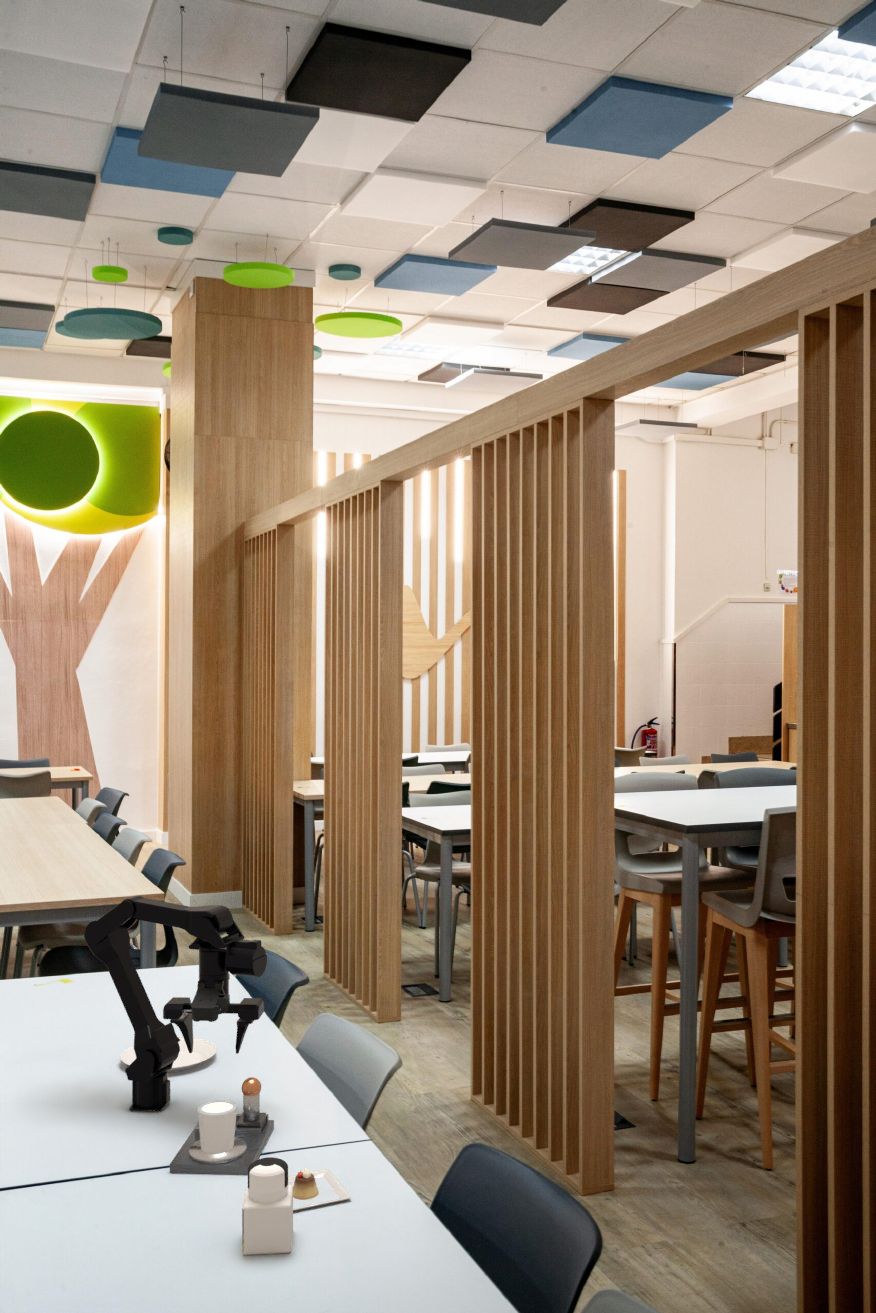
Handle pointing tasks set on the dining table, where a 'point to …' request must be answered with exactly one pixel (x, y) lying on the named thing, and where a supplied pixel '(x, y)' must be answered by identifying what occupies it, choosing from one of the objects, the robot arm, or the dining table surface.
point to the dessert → (315, 1186)
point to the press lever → (251, 1105)
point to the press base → (229, 1162)
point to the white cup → (217, 1126)
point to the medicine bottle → (267, 1208)
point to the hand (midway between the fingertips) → (214, 1052)
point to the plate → (180, 1054)
